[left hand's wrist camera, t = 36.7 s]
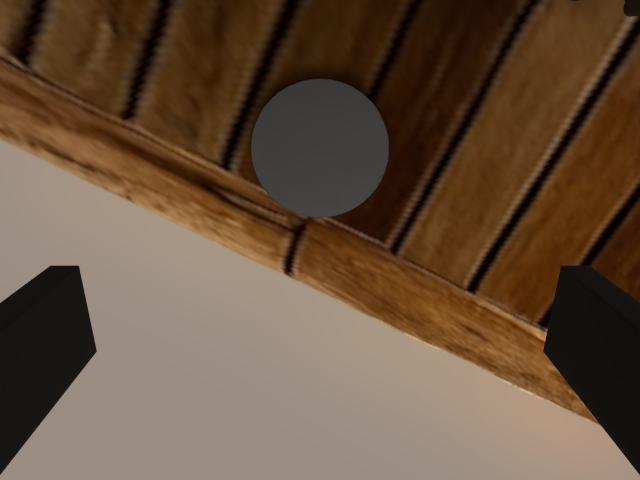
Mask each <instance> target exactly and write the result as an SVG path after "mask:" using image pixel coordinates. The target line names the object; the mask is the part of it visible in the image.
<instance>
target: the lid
mask: <svg viewBox="0 0 640 480" xmlns="http://www.w3.org/2000/svg"><path fill="white" fill-rule="evenodd" d="M380 114H381V113H380V112H379V111H378V110H377V108H376V107H375V106H374V104H373V103H372V102H371V101H370V100H369V99H368V98H367V97H366V94H364V93H361V92H360V91H359V90H357V89H356V88H354V87H352V86H350V85H349V84H346V82H341V81H338V80H334V79H328V78H323V77H321V78H312V79H306V80H302V81H300V80H298V82H296V83H294V84H292V85H290V86H288V87H286V88H284V89H283V90H281V91H278V92H277V94H276V95H275V96H274V97H273V98H271V100H270V101H269V102H268V103H267V104H266V105H265V107H264V108H263V109H262V110H261V113H260V114H259V116H258V119H257V121H256V123H255V126H254V129H253V131H252V132H253V133H252V139H251V157H252V162H253V167H254V170H255V173H256V175H257V177H258V179H259V181H260V183H261V185H262V186H263V188H264V189H265V191H266V192H267V193H268V194H269V195H270V196H271V197H272V198H273V199H274V200H275V201H276V202H277V203H279V204H280V205H281V206H283V207H284V208H286V209H288V210H290V211H292V212H295V213H297V214H300V215H304V216H309V217H330V216H336V215H339V214H343V213H345V212H348V211H350V210H352V209H354V208H355V207H357V206H359V205H360V204H361V203H363V202H364V201H365V200H366V199H367V198H368V197H369V196H370V195H371V194H372V193H373V192H374V190H375V189H376V188H377V186H378V185H379V183H380V181H381V179H382V177H383V175H384V173H385V170H386V166H387V162H388V156H389V140H388V134H387V130H386V126H385V124H384V121H383V118H382V117H381V115H380Z"/></svg>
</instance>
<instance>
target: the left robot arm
mask: <svg viewBox="0 0 640 480" xmlns="http://www.w3.org/2000/svg"><path fill="white" fill-rule="evenodd" d="M96 352H97V350H96V346H95V341H94V336H93V331H92V327H91V322H90V317H89V312H88V307H87V303H86V298H85V293H84V288H83V284H82V279H81V274H80V269H79V266H50V267H48V268H47V269H46V270H44V271H43V272H41V273H40V274H39V275H37V276H36V277H35V278H33V279H32V280H31V281H29V282H28V283H27V284H25V285H24V286H23V287H21V288H20V289H19V290H17V291H16V292H15V293H13V294H12V295H10V296H9V297H8V298H6V299H5V300H4V301H2V302H1V303H0V474H1V473H2V472H3V471H4V469H5V468H6V467H7V465H8V464H9V463H10V462H11V460H12V459H13V458H14V457H15V455H16V454H17V453H18V451H19V450H20V449H21V448H22V446H23V445H24V444H25V442H26V441H27V440H28V438H29V437H30V436H31V435H32V433H33V432H34V431H35V430H36V428H37V427H38V426H39V425H40V423H41V422H42V421H43V419H44V418H45V417H46V416H47V414H48V413H49V412H50V410H51V409H52V408H53V407H54V405H55V404H56V403H57V402H58V400H59V399H60V398H61V396H62V395H63V394H64V392H65V391H66V390H67V389H68V387H69V386H70V385H71V384H72V382H73V381H74V380H75V379H76V377H77V376H78V375H79V373H80V372H81V371H82V370H83V368H84V367H85V366H86V364H87V363H88V362H89V361H90V359H91V358H92V357H93V355H94V354H95V353H96ZM543 352H544V353H545V354H546V355H547V357H548V358H549V359H550V361H551V362H552V363H553V364H554V366H555V367H556V368H557V370H558V371H559V372H560V373H561V375H562V376H563V377H564V379H565V380H566V381H567V382H568V384H569V385H570V386H571V387H572V389H573V390H574V391H575V393H576V394H577V395H578V396H579V398H580V399H581V400H582V402H583V403H584V404H585V405H586V407H587V408H588V409H589V410H590V412H591V413H592V414H593V416H594V417H595V418H596V419H597V421H598V422H599V423H600V425H601V426H602V427H603V428H604V430H605V431H606V432H607V433H608V435H609V436H610V437H611V439H612V440H613V441H614V442H615V444H616V445H617V446H618V448H619V449H620V450H621V451H622V453H623V454H624V455H625V457H626V458H627V459H628V460H629V462H630V463H631V464H632V465H633V467H634V468H635V469H636V470H637V472H638V473H639V474H640V303H639V302H638V301H636V300H635V299H634V298H632V297H631V296H630V295H628V294H627V293H625V292H624V291H623V290H621V289H620V288H619V287H617V286H616V285H615V284H613V283H612V282H611V281H609V280H608V279H607V278H605V277H604V276H603V275H601V274H600V273H599V272H597V271H596V270H594V269H593V268H592V267H590V266H561V269H560V274H559V279H558V284H557V288H556V293H555V298H554V303H553V307H552V312H551V317H550V322H549V327H548V331H547V336H546V341H545V346H544V350H543Z"/></svg>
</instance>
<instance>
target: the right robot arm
mask: <svg viewBox="0 0 640 480" xmlns="http://www.w3.org/2000/svg"><path fill="white" fill-rule="evenodd" d="M572 1H578V0H572ZM623 10H624V13H625V14H626V15H627V16H629V17H631V16H638V15H640V0H625V4H624V9H623Z"/></svg>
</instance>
